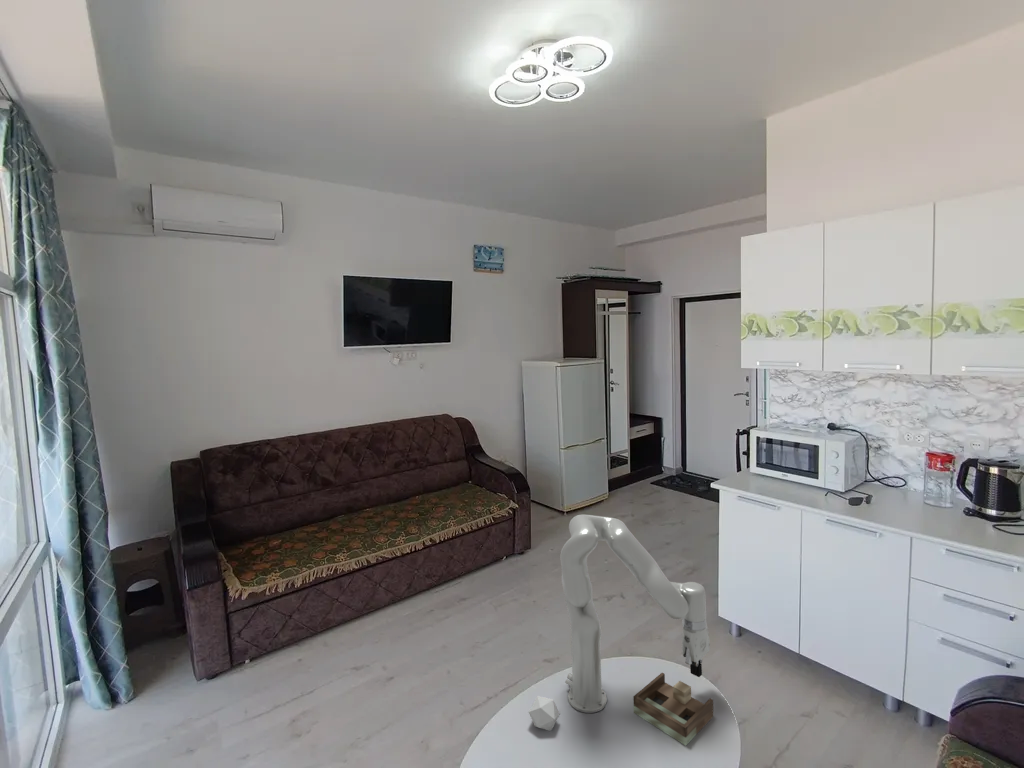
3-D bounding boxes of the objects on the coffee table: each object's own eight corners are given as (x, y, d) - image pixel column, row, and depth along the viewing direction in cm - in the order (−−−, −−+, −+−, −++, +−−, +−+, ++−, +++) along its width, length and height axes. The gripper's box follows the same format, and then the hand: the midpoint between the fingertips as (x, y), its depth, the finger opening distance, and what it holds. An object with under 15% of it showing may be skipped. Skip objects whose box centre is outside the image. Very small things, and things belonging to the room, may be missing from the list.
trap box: (633, 712, 157) (633, 696, 156) (662, 687, 167) (662, 672, 167) (685, 745, 143) (685, 728, 143) (713, 716, 154) (713, 699, 153)
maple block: (673, 698, 159) (673, 686, 158) (679, 692, 161) (679, 680, 161) (684, 704, 156) (684, 692, 155) (691, 698, 158) (691, 686, 158)
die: (563, 721, 155) (550, 687, 159) (563, 727, 147) (549, 691, 151) (539, 734, 154) (526, 699, 159) (537, 740, 146) (523, 704, 151)
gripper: (693, 635, 154) (695, 691, 156) (716, 616, 164) (718, 668, 165) (671, 626, 160) (673, 680, 161) (695, 608, 170) (697, 658, 171)
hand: (696, 674), depth 163 cm, fingers closed
